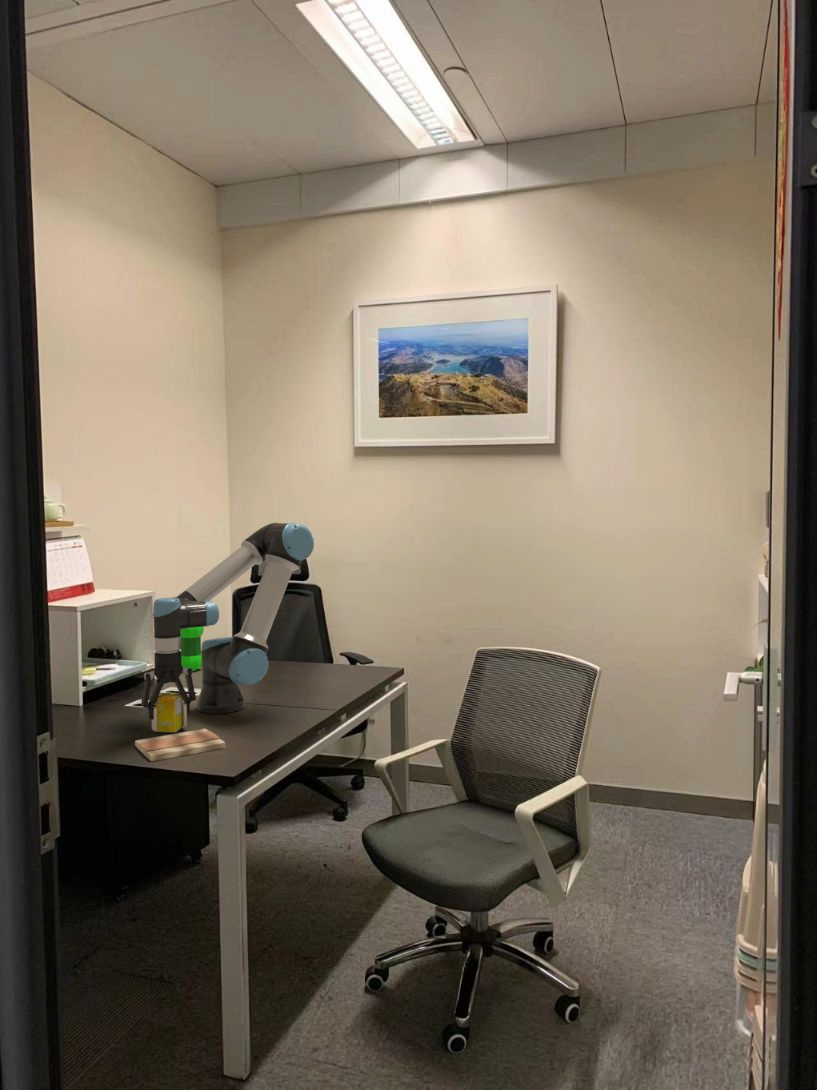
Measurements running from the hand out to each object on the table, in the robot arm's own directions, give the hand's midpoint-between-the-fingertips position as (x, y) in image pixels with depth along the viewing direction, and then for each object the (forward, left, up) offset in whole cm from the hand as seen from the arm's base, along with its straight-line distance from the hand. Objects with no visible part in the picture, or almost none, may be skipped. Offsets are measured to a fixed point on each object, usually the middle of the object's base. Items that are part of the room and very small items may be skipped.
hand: (169, 727), depth 230 cm
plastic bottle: (-33, -80, -1) cm, 87 cm away
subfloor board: (+2, +16, -1) cm, 16 cm away
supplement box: (0, 0, -1) cm, 1 cm away
